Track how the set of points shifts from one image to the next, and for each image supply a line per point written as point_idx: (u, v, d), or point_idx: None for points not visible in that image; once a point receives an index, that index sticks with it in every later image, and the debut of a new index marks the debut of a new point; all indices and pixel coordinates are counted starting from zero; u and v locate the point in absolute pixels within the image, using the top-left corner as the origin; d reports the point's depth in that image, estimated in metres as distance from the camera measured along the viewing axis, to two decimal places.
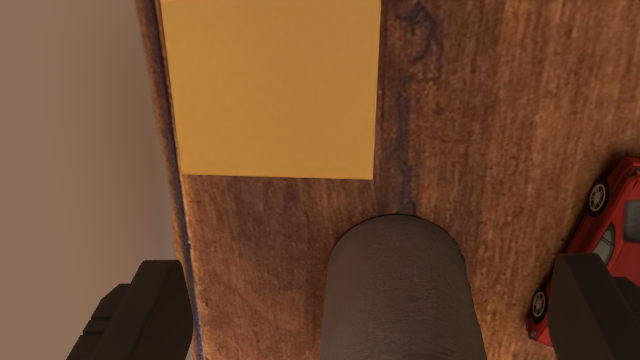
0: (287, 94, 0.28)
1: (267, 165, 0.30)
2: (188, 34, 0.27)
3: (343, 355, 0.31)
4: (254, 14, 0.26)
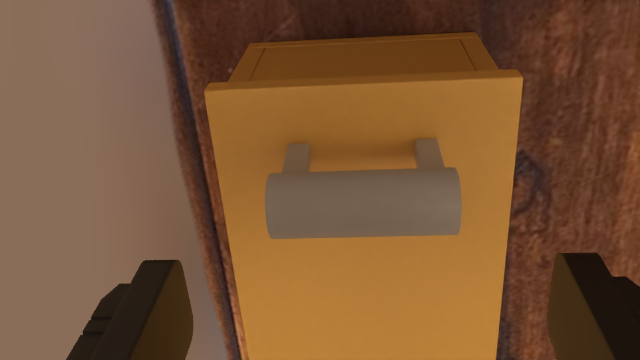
0: (387, 316, 0.22)
1: None
2: (261, 257, 0.21)
3: None
4: None
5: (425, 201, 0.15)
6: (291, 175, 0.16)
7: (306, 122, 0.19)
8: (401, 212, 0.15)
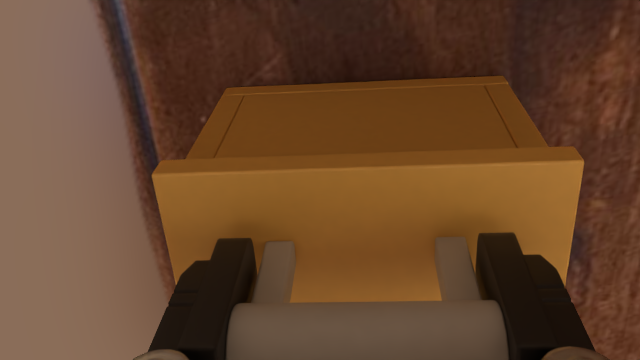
0: None
1: None
2: None
3: None
4: None
5: None
6: (263, 311, 0.11)
7: (290, 214, 0.14)
8: None
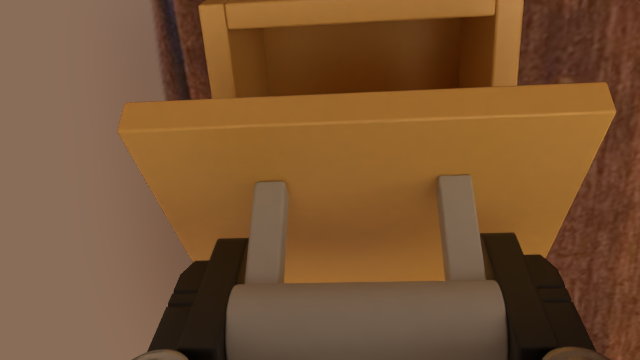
0: None
1: None
2: None
3: None
4: (339, 253, 0.16)
5: None
6: (260, 308, 0.11)
7: (279, 160, 0.13)
8: None
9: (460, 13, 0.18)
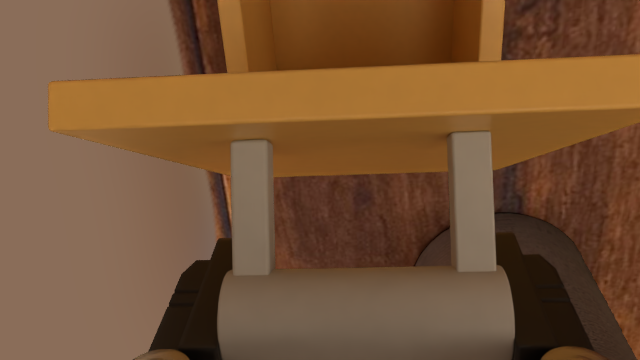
0: (386, 164, 0.18)
1: (353, 173, 0.22)
2: (218, 161, 0.16)
3: None
4: (333, 154, 0.14)
5: None
6: (253, 322, 0.10)
7: (257, 133, 0.10)
8: None
9: None
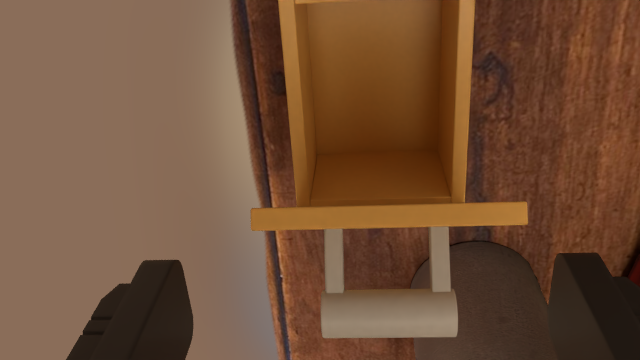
0: None
1: None
2: None
3: None
4: None
5: (432, 334, 0.22)
6: (338, 315, 0.22)
7: None
8: None
9: None
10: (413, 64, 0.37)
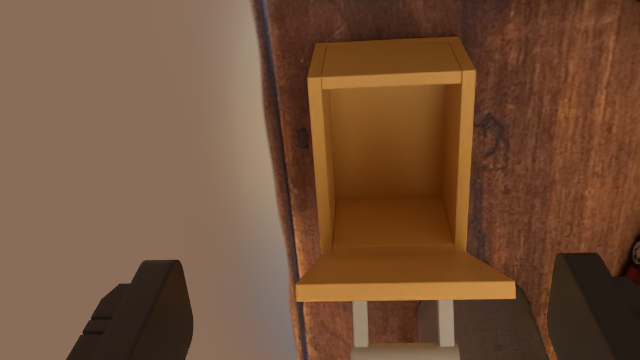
0: None
1: None
2: None
3: None
4: None
5: None
6: None
7: None
8: None
9: (443, 82, 0.34)
10: (421, 124, 0.43)
